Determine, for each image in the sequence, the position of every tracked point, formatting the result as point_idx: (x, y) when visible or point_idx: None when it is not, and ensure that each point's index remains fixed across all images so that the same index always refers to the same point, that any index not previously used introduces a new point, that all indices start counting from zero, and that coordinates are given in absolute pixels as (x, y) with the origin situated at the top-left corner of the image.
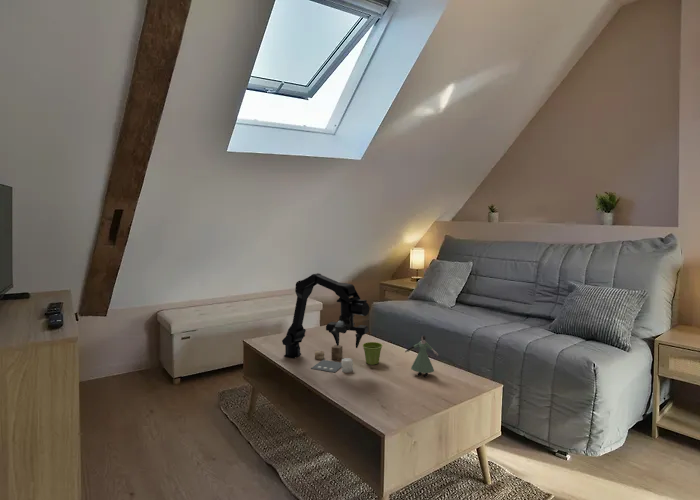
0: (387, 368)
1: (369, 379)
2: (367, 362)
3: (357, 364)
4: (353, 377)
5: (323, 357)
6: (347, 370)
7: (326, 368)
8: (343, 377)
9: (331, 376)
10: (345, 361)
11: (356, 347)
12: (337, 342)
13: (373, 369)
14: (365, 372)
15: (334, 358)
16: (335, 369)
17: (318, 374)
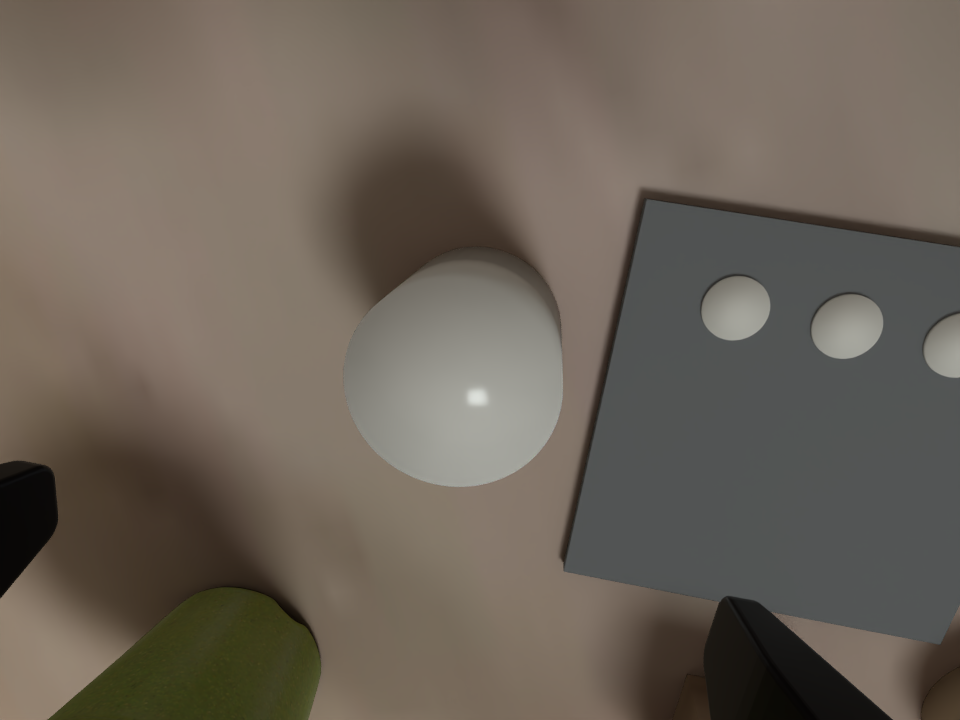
0: None
1: (60, 65)
2: (275, 615)
3: (404, 574)
4: (305, 77)
5: (942, 710)
6: (443, 255)
7: (822, 306)
8: (456, 28)
9: (668, 12)
10: (461, 304)
11: (4, 464)
12: (775, 677)
13: (154, 448)
14: (211, 323)
15: None
16: (660, 304)
17: (929, 40)
